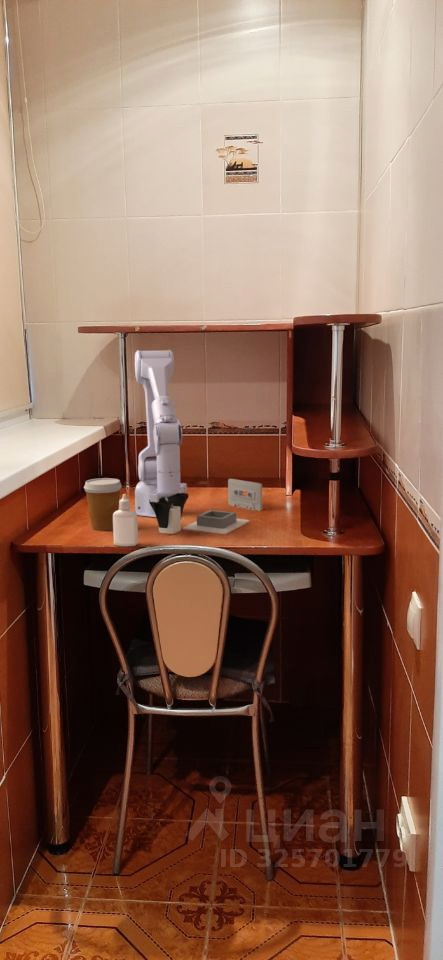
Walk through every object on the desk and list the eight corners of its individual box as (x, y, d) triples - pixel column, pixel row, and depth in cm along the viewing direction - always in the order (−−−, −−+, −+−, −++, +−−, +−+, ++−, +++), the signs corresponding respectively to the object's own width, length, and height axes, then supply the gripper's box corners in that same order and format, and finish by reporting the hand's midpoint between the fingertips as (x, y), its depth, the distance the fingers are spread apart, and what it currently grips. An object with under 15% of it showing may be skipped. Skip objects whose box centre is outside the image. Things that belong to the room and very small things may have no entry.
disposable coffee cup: (106, 534, 190) (104, 486, 188) (77, 529, 195) (75, 482, 193) (131, 525, 198) (129, 480, 196) (102, 521, 203) (101, 476, 201)
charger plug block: (158, 532, 192) (158, 504, 190) (167, 528, 195) (166, 501, 194) (172, 534, 190) (172, 506, 189) (180, 530, 193) (180, 503, 192)
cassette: (263, 510, 214) (263, 483, 212) (259, 511, 212) (259, 484, 211) (231, 504, 222) (231, 478, 220) (226, 505, 220) (226, 479, 219)
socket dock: (182, 529, 194) (182, 517, 194) (208, 517, 207) (208, 506, 206) (225, 534, 189) (225, 522, 188) (249, 521, 201) (249, 510, 201)
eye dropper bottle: (127, 548, 177) (125, 497, 175) (111, 544, 181) (109, 494, 179) (141, 544, 181) (139, 494, 178) (124, 540, 184) (123, 491, 182)
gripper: (167, 477, 182) (168, 533, 184) (197, 467, 194) (197, 519, 197) (141, 475, 185) (143, 530, 187) (172, 465, 197) (174, 517, 200)
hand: (169, 524), depth 192 cm, fingers open, 6 cm apart
